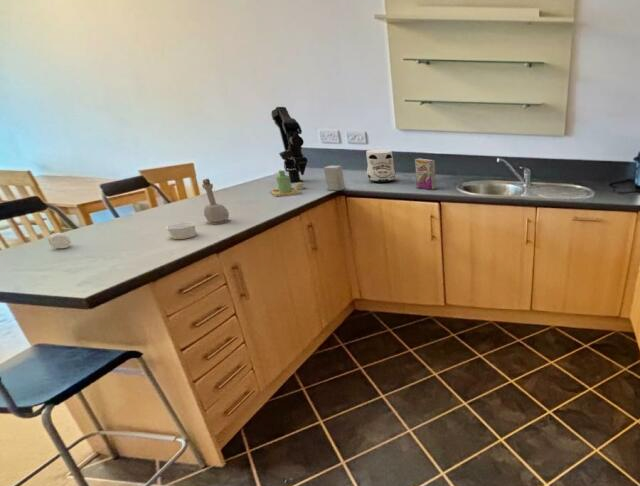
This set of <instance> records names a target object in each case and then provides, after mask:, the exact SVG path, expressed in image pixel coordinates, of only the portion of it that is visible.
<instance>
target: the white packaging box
mask: <svg viewBox="0 0 640 486" xmlns="http://www.w3.org/2000/svg"><path fill="white" fill-rule="evenodd" d="M323 171H324V177H325V182H326V186H327V191H342V190H345V189H346V184H345V178H344V177H345V176H344V172H343V166H342V165H327V166H325V167H323Z"/></svg>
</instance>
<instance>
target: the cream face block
mask: <svg viewBox="0 0 640 486" xmlns="http://www.w3.org/2000/svg"><path fill="white" fill-rule="evenodd" d="M365 155H366V163H367V169H366V175H367V178H368V180H369V181H371V182H374V183H389V182H393V181H395V180H396V178H397V171H396V169H395V165H394V158H393V152H392V150H391V149H368V150H366V153H365Z"/></svg>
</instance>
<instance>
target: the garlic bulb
mask: <svg viewBox="0 0 640 486" xmlns="http://www.w3.org/2000/svg"><path fill="white" fill-rule="evenodd" d="M47 242H48V244H49V245H50V246H51V248H55V249H67V248H70V246H71V245H72V240H71V237H70V236H68V235H67V234H66V233H62V232H54V233H52V234H50V235H49V236H48V239H47Z"/></svg>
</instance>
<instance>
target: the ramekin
mask: <svg viewBox="0 0 640 486" xmlns="http://www.w3.org/2000/svg"><path fill="white" fill-rule="evenodd" d="M166 230H167V232H168V234H169V236H170V238H172V239H173V240H185V239H186V240H187V239H190V238H193V237H196V236H197V231H196V223H194V222H177V223H172V224H169V225H167V226H166Z"/></svg>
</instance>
